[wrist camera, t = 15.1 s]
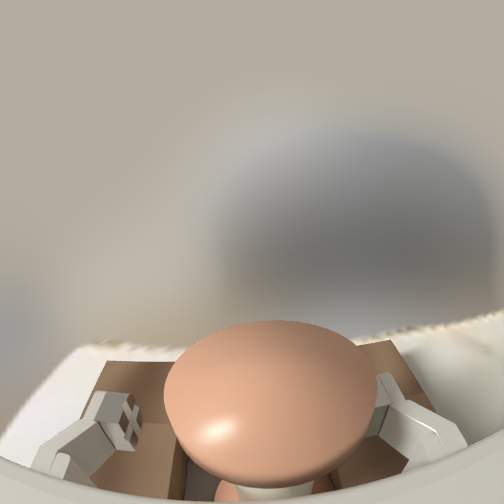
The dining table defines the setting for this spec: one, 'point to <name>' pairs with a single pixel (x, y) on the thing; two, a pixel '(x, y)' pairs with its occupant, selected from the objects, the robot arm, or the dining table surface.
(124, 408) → the robot arm
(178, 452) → the notched board
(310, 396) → the bobbin
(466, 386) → the dining table surface
